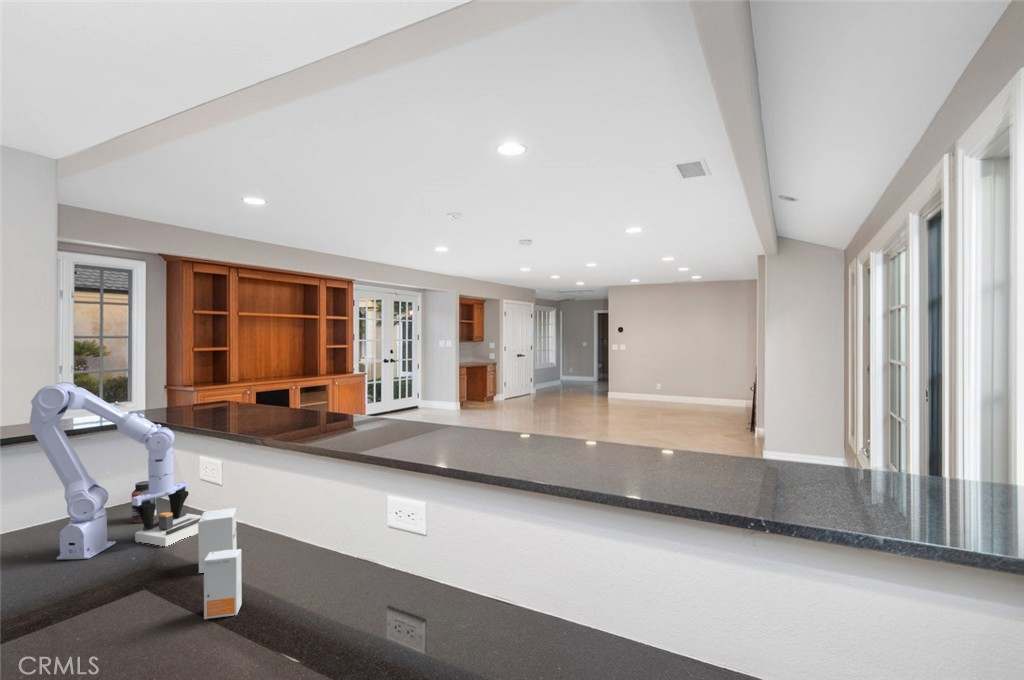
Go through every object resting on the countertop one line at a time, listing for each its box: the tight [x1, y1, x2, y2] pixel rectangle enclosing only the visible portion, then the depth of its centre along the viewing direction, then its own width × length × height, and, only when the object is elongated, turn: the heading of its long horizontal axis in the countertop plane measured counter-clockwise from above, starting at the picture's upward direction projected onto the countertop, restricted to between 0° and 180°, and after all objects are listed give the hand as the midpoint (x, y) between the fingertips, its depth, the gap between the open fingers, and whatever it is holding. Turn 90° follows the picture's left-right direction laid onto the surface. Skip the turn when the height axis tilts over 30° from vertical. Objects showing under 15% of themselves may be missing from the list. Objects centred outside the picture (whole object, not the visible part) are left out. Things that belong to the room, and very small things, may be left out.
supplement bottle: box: [131, 480, 157, 524], centre depth 154 cm, size 6×6×11 cm
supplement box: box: [197, 507, 238, 574], centre depth 124 cm, size 7×7×13 cm
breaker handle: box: [158, 511, 173, 530], centre depth 140 cm, size 2×3×4 cm, turn 72°
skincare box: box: [203, 548, 243, 620], centre depth 103 cm, size 6×4×12 cm
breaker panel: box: [134, 511, 202, 548], centre depth 143 cm, size 15×11×4 cm
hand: (162, 523), depth 139 cm, fingers open, 7 cm apart
